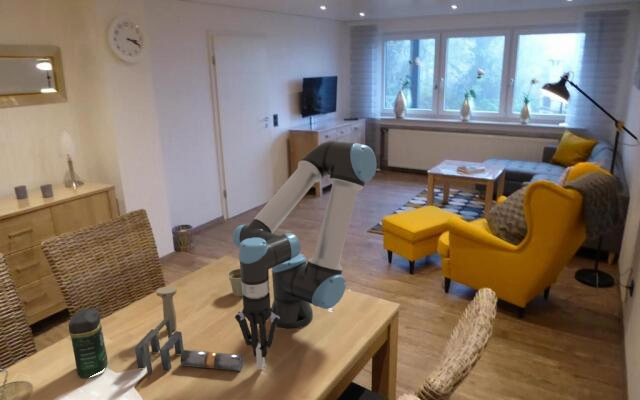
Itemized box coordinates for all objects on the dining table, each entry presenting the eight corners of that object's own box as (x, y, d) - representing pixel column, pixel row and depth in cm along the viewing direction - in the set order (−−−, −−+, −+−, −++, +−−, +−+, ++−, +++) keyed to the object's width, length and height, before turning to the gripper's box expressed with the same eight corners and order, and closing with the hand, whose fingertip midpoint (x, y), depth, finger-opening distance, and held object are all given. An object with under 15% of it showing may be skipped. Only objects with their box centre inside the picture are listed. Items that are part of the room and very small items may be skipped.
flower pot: (233, 287, 182) (231, 267, 179) (256, 288, 180) (254, 268, 178) (225, 298, 173) (223, 278, 170) (249, 299, 172) (247, 279, 169)
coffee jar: (105, 376, 130) (95, 320, 125) (75, 382, 128) (63, 325, 123) (110, 356, 139) (100, 303, 134) (82, 362, 137) (71, 308, 131)
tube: (244, 360, 134) (241, 351, 132) (240, 373, 131) (237, 365, 128) (188, 355, 137) (184, 346, 135) (182, 368, 134) (179, 359, 131)
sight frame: (173, 346, 143) (169, 316, 140) (150, 374, 130) (145, 342, 127) (171, 346, 144) (167, 315, 140) (147, 374, 130) (142, 341, 127)
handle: (179, 333, 151) (173, 293, 146) (159, 333, 150) (154, 293, 146) (183, 325, 155) (178, 286, 151) (164, 325, 155) (159, 286, 151)
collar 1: (160, 349, 142) (157, 329, 140) (144, 368, 133) (140, 348, 131) (154, 349, 142) (151, 329, 140) (137, 368, 133) (134, 347, 131)
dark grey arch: (183, 351, 141) (181, 331, 138) (168, 371, 131) (165, 350, 129) (178, 351, 141) (175, 331, 139) (162, 370, 132) (159, 349, 130)
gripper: (228, 298, 122) (235, 371, 129) (275, 301, 120) (279, 375, 126) (238, 285, 129) (244, 355, 136) (282, 288, 127) (285, 359, 133)
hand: (261, 365), depth 131 cm, fingers closed
